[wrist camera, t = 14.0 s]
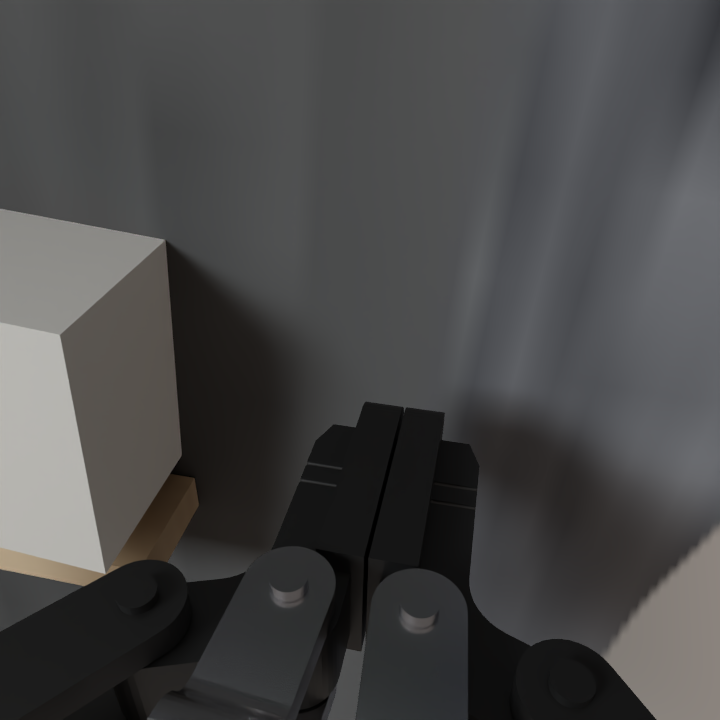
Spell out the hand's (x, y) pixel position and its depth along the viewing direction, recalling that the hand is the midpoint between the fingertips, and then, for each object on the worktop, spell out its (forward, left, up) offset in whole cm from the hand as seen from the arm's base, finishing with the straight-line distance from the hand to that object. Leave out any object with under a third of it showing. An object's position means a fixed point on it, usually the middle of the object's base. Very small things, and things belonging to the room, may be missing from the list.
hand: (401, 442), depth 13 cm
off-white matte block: (-10, 0, -2) cm, 10 cm away
